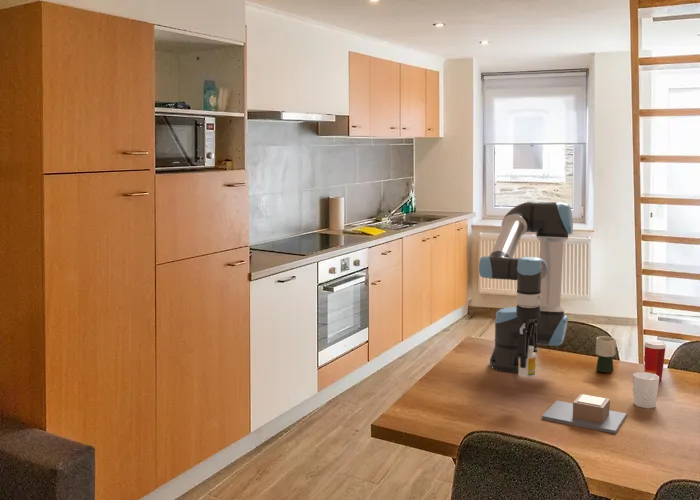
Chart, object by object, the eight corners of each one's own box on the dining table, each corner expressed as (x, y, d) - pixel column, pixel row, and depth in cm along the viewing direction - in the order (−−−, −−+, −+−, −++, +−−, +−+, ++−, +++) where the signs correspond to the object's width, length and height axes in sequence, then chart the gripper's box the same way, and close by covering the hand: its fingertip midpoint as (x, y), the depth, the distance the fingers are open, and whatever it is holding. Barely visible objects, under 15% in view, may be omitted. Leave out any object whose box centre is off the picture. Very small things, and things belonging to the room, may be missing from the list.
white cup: (627, 400, 229) (628, 372, 227) (649, 400, 229) (651, 371, 228) (639, 409, 221) (640, 379, 219) (662, 408, 221) (664, 379, 220)
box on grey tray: (541, 418, 213) (542, 399, 213) (556, 403, 227) (557, 385, 226) (615, 433, 202) (616, 413, 201) (626, 416, 215) (627, 397, 214)
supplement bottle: (514, 373, 225) (515, 345, 223) (527, 371, 227) (528, 343, 225) (525, 378, 220) (526, 350, 218) (538, 375, 222) (539, 347, 221)
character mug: (620, 375, 254) (622, 342, 253) (602, 376, 254) (604, 342, 252) (606, 367, 265) (608, 334, 263) (589, 367, 264) (590, 335, 263)
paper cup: (660, 376, 254) (662, 339, 252) (667, 383, 246) (669, 345, 244) (638, 375, 254) (640, 339, 252) (645, 382, 247) (647, 345, 245)
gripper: (530, 312, 210) (528, 384, 214) (548, 300, 225) (546, 367, 229) (507, 309, 214) (505, 380, 218) (526, 298, 229) (524, 364, 233)
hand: (526, 373), depth 223 cm, fingers closed on supplement bottle, 5 cm apart
